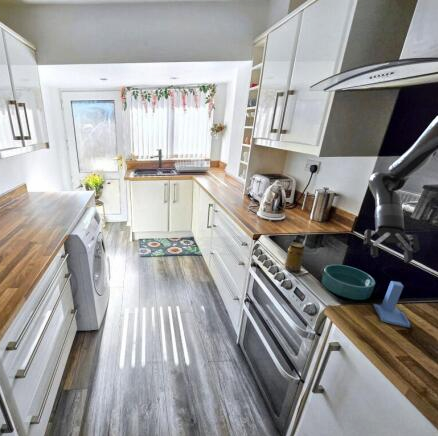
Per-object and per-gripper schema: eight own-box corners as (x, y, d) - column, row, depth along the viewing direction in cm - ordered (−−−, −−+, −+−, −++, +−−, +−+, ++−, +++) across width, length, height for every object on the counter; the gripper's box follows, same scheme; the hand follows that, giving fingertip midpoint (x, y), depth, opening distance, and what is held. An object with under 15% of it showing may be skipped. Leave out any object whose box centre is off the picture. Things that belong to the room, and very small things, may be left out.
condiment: (291, 263, 112) (296, 240, 108) (308, 272, 105) (314, 248, 100) (279, 266, 110) (284, 243, 106) (296, 276, 102) (301, 251, 98)
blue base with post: (373, 305, 85) (382, 279, 81) (397, 310, 82) (409, 283, 78) (381, 321, 78) (392, 293, 74) (409, 327, 75) (422, 299, 71)
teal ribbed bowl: (363, 281, 97) (367, 269, 95) (376, 305, 85) (381, 291, 82) (318, 273, 104) (321, 261, 102) (324, 294, 91) (328, 281, 89)
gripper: (368, 211, 89) (370, 252, 84) (421, 216, 83) (426, 260, 78) (360, 220, 96) (361, 258, 90) (408, 225, 90) (412, 266, 84)
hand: (391, 259), depth 84 cm, fingers open, 8 cm apart
